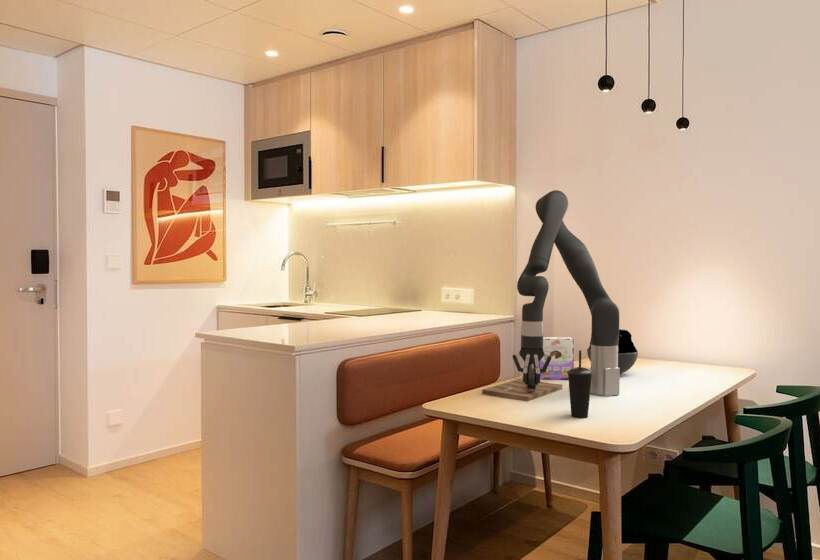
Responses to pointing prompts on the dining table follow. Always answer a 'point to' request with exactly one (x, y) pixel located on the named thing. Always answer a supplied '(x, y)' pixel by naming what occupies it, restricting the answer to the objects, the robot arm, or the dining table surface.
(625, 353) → the bowl of black rocks
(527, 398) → the board
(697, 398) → the dining table surface
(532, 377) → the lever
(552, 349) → the candy box
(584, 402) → the drinking cup
